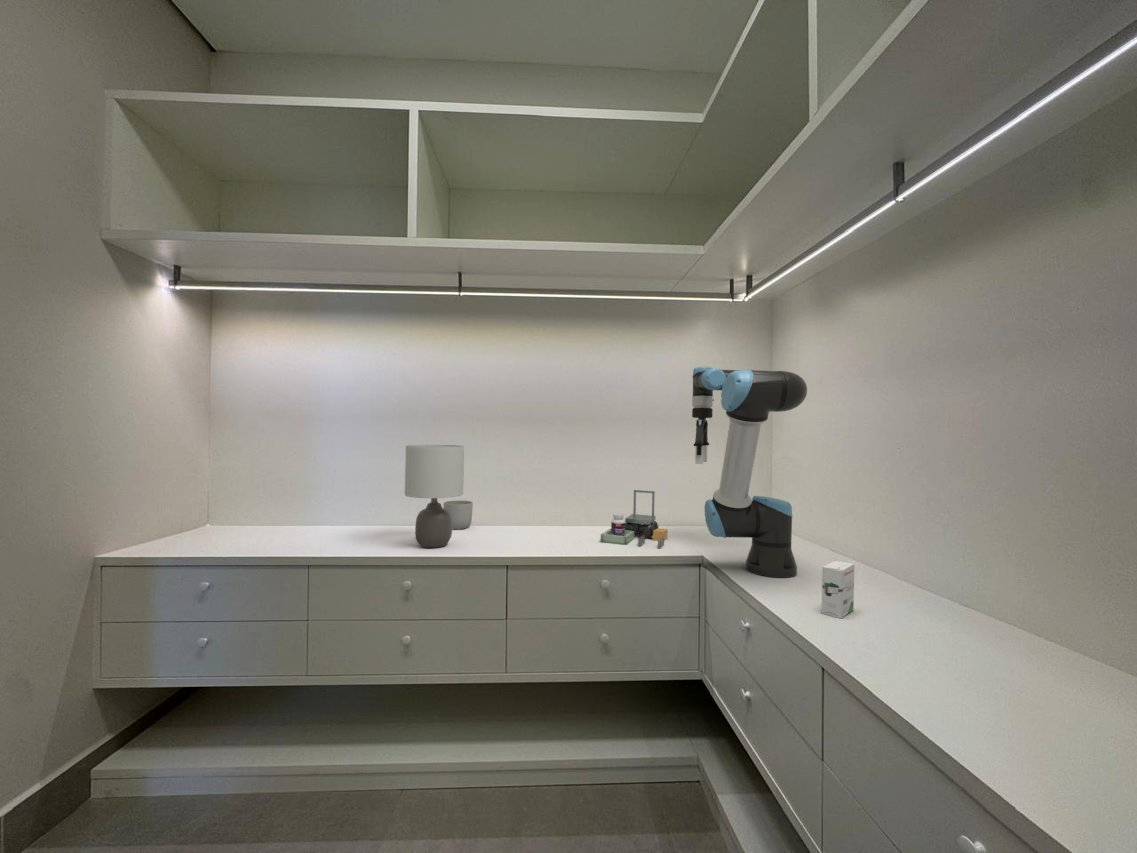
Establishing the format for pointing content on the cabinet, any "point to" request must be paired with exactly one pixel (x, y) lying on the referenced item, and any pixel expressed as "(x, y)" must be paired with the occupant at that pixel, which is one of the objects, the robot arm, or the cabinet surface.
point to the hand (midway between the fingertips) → (701, 463)
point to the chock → (660, 534)
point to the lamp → (434, 488)
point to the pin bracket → (642, 540)
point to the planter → (459, 513)
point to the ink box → (837, 589)
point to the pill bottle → (618, 525)
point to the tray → (617, 537)
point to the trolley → (642, 519)
